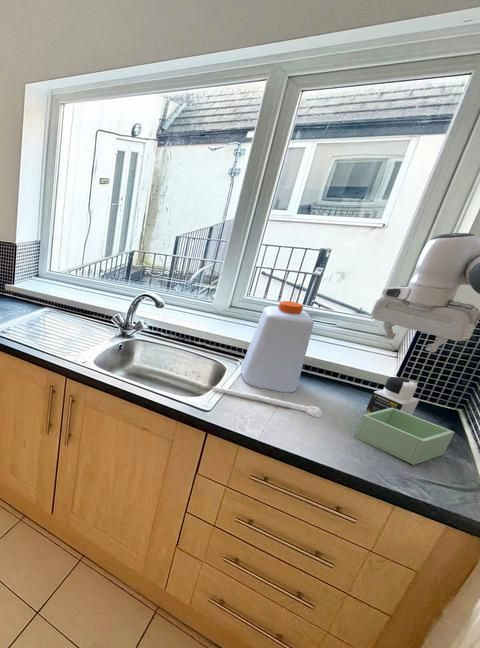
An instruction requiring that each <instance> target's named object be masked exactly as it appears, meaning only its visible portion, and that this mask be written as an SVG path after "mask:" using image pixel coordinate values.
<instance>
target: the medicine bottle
mask: <svg viewBox="0 0 480 648" xmlns="http://www.w3.org/2000/svg"><path fill="white" fill-rule="evenodd" d="M417 388H418V384H417V383H415V382H414V381H412V380H410V379H408V378H404V377H400V376H391V377H388V378H387V380H386V382H385V385H384V387H383V389H379V390H376V391H373V393H372V395H371V397H370V400H369V402H368V404H367V407H366V409H365V412H367V413H372V412H376V411H380V410H384V409H388V408H392V407H393V408H395V409H398V410H400V411H403V412H405V413H408V414H410V415H413V414H414V411H415V410H416V408H417V406H418V404H419V402H420V399H418V398H416V397H414V395H415V393H416V390H417Z"/></svg>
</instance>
